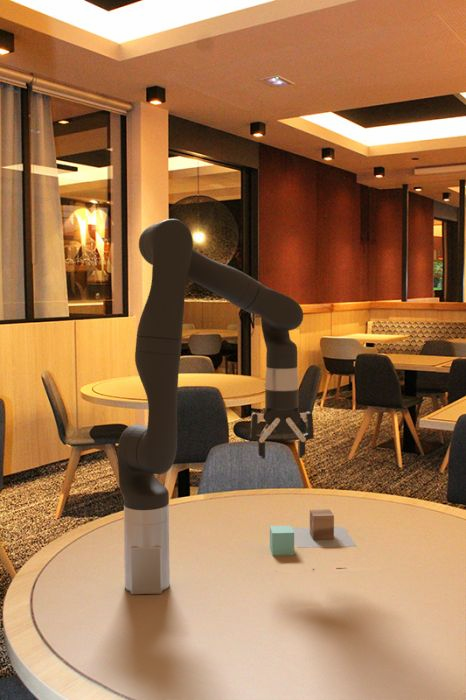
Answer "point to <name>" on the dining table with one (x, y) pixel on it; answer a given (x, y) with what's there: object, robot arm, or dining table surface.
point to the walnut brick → (322, 524)
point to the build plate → (305, 540)
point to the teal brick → (281, 540)
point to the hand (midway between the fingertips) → (281, 457)
